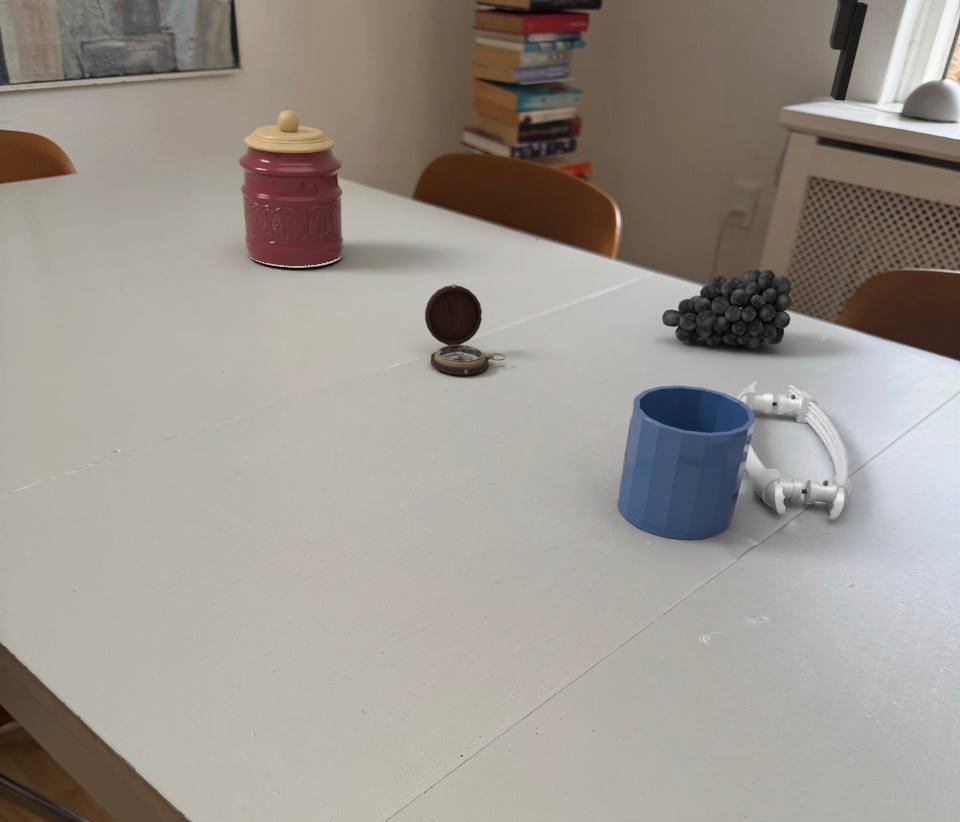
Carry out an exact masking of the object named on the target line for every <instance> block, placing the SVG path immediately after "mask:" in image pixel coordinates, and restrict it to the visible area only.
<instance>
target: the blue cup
mask: <svg viewBox="0 0 960 822" xmlns="http://www.w3.org/2000/svg"><path fill="white" fill-rule="evenodd" d="M632 400H633V401H632V407H631V412H630V413H631V414H630V419H629V426H628V432H627V439H626V444H625V445H626V446H625V452H624V458H623V463H622V464H623V465H622V470H621V476H620V477H621V478H620V484H619V489H618V500H617V508H618V511H619V513H620V515H621V516H622V518H624V519H625V520H626V521H627V522H628V523H630V524H631V525H633V527H636V528H638V529H640V530H642V531H644V532H647V533H650V534H653V535H654V536H655V535H656V536H659V537H663V538H669V539H674V540H701V539H708V538H711V537H715V536H717V535H719V534H721V533H723V532H725V531H726V530H727V529H728V528H729V526H730V525H731V522H732V518H733V517H734V515H735V510H736V506H737V501H738V498H739V493H740V490H741V485H742V482H743V481H742V480H743V477H744V472H745V469H744V468H745V464H746V460H747V455H748V451H749V447H750V444H751V443H752V438H753V432H754V429H755V425H756V416H755V410H752V409H751V408H749V407H748V406H747V405H746V404H745V403H744V402H742V401H740V400H738V398H736V397H734V396H731V395H729V394H727V393H726V392H721V391H717V390H713V389H710V388H706V387H700V386H689V385H663V386H662V385H661V386H656V387H652V388H649V389H645V390H642V391H641V392H640V393H639V394H637V395H636V396H634V398H633V399H632Z"/></svg>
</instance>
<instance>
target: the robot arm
mask: <svg viewBox="0 0 960 822" xmlns="http://www.w3.org/2000/svg"><path fill="white" fill-rule="evenodd" d="M868 7H869V4H867V3H866V2H862V1H859V0H837V5H836V10H835V15H834V18H833V22H832V23H833V24H832V27H831V32H830V36H829V48H830V49H832V50H834V51H840V52H839V56H838V60H837V65H836V69H835V73H834V77H833V81H832V86H831V90H830V95H829V96H830V97H831V98H832V99H833V100H835V101H843V102H845V101H846V97H847V93H848V89H849V84H850V81H851V76H852V73H853V68H854V65H855V62H856V61H855V60H856V57H857V52H858V48H859V45H860V40H861V35H862V31H863V28H864V24H865V19H866V15H867V11H868Z"/></svg>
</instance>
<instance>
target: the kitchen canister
mask: <svg viewBox="0 0 960 822" xmlns="http://www.w3.org/2000/svg"><path fill="white" fill-rule="evenodd" d="M243 143H244V145H245V146H246V147H247V149H246V152H245V153H244V154H242V155H241V156H240V157H239V159H238V164H239V165H240V167H241V168H242V169H243V184H242V185H241V187H240V192H241V193H242V200H243V213H244V227H245V234H244V240H245V248H246V250H247V255H248V254H249V256H250V257H252V258H253V259H255V260H258V261H261V262H264V263H269V264H270V263H271V264H275V265H276V264H277V265H284V266H286V265H287V266H305V265H306V266H308V265H310V266H311V265H317V264H322V263H326V262H330V261H333V260H335V259H338V258H339V257H340V256H341V255H343V250H344V236H343V230H342V229H343V228H342V226H343V225H342V223H343V222H342V195H343V189H342V188H341V187H340V186H339V176H338V172H339V170H340V169H341V168H342V161H341V160H340V159H339V158H338V157H337V156H335V155H334V154H333V152H332V149H333V148H334V147H335V141H334V140H333V139H331V138H330V137H328V136H327V135H326V134H325V133H324V132H323V130H321V129H318V128H315V127H312V126H311V127H310V126H305V125H300V120H299V118H298V115H297V113H296V112H294V111H293V110H290V109H288V110H282V111H281V112H280V113H279V114H278V116H277V124H274V125H273V124H272V125H264V126H259V127H257V128H255V129H254V130H253V132H252V133H250V134H249V135H247V136H246V137H244V138H243ZM249 256H248V257H249ZM250 257H249V258H250Z"/></svg>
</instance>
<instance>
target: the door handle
mask: <svg viewBox="0 0 960 822" xmlns="http://www.w3.org/2000/svg"><path fill="white" fill-rule="evenodd" d="M757 385H758V381H756V380H753V381H751V383H750V384H749V385H748V386H746V388H744V389H743V390H742V391H741V393H740V394H739V396H738V397H737V399H738V400H740V401H742V402H744V403H745V404H746V405H747V406H748V407H749V408H751V409H752V410H753V411H759V412H761V413H763V414H771V411H772V408H773V407H774V414H775V415H784V414H791V415H794V418H795V421H796V423H802V424H808V425H809V426H810V427H811V428H812V429H813V431H815V433H816V434H817V436H818V437H819V438H820V440H821V441H822V443H823V444H824V446H825V447H826V449H827V452H828V453H829V455H830V457H831V460H832V463H833V466H834V470H835V475H834V476H833V478H832V479H833V480H832V483H830V484H829V480H826V479H825V480H823V482H822V483H820V482H818V480H813V479H808V480H807V481H806V484H805V487H804V488H803V479H802V478H791V479H790V480H789V479H781V476H780V473H779V469H774V468H766V467H765V465H764V464H763V463H762V461H761V460H760V459H759V456H758V455H757V454H756V452H755V450H754V449H753V447H752V445H751V443H750V447H749V451H748V455H747V460H746V464H745V468H744V472H745V473H746V474H747V476H748V478H749V479H750V481H751V482H752V486H753V487H752V488H753V491H754V492H755V494H756V495H757V496H758V497H759V498H760V499H761V500H762V502H763V503H764V504H765V505H766V506H768V507H770V508H773V509H774V510H775V511H776V512H777V513H778V514H779V515H782V516H783V515H786V511H785V510H786V509H787V507H786V505H785V504H784V500H788V502H792V503H799V502H800V499H801V497H802V495H803V502H804V504H813V505H814V504H815V503H823V504H826V506H827V508H828V512H829V513H830V514H829V516H828V518H827V519H828V520H830V521H834V520H836V519H837V518H838V517H839V515H840V514H841V513H842V511H843V509H844V508H845V507H846V506H847V504H848V502H849V499H850V497H851V494H852V490H853V484H852V482H851V480H850V463H849V459H848V453H847V451H846V448H845V445H844V442H843V440H842V438H841V435H839V432H838V431H837V429H836V427H835V426H834V425H833V423H832V421H831V419H829V417H828V416H827V415H826V414H825V413H824V411H822V409H821V408H820V407H819V403H818V401H817V400H816V399H815V398H814V397H812V396H811V395H810V394H809V393H808V392H807V391H805V390H800V389H799V388H798V387H796V386H795V385H794V384H790V385H789V389H788V394H789V396H787V395H786V394H781V393H778V394H777V396H776V399H775V401H774V394H773V393H772V392H764V393H762V394H760V393H757V390H756V389H757Z"/></svg>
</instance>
